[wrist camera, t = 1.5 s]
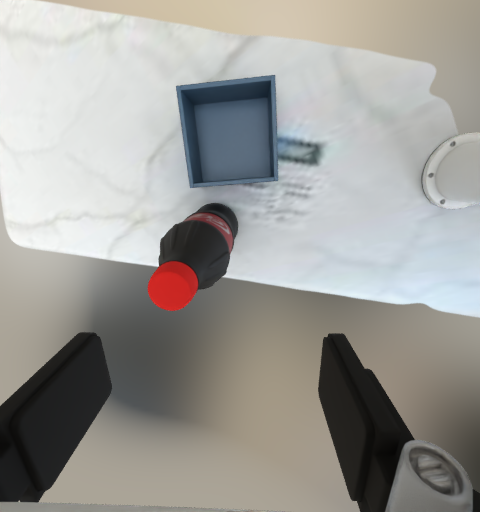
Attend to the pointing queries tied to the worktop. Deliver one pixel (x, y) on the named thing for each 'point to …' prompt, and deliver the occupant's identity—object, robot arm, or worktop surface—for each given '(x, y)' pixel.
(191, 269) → the cola bottle
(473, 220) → the worktop surface
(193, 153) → the case
